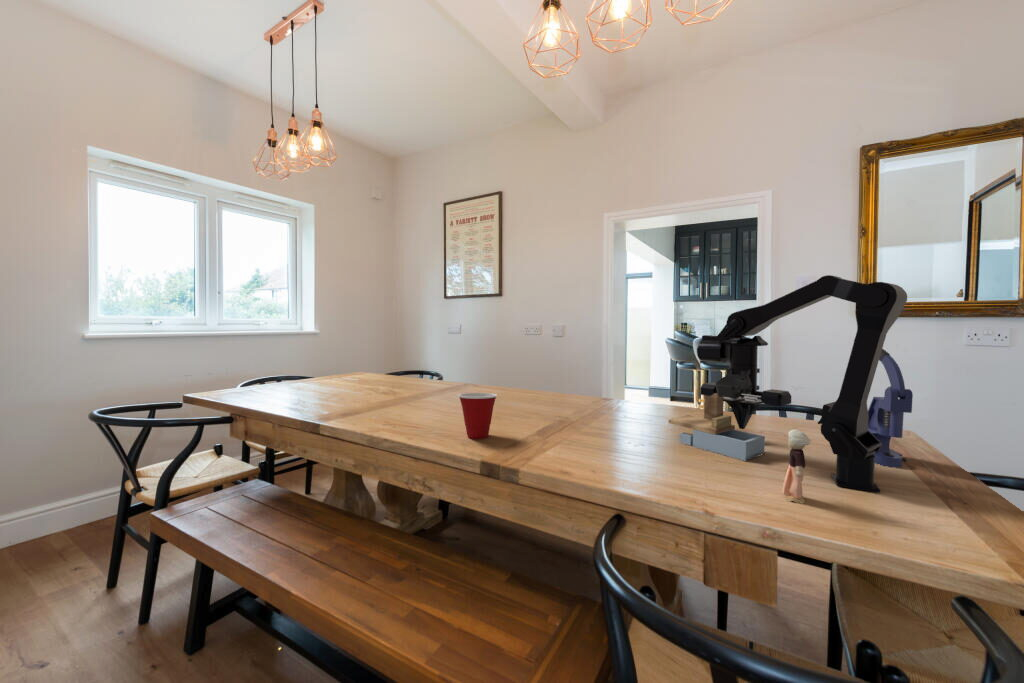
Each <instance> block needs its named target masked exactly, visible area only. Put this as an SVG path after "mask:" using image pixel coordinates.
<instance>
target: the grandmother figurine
mask: <svg viewBox="0 0 1024 683" xmlns="http://www.w3.org/2000/svg"><path fill="white" fill-rule="evenodd" d="M787 444H788V446H789V447H790V448H791V449H790V450H789V462H788V463H789V464H788V467H787V471H786V474H785V477H784V480H783V485H782V491H781V492H782V494H783V495H786V497H785V498H786V499H785V500H786V501H788V500H790V501H794V502H802V503H801V504H805V503H806V500H805V499H804V496H803V484H802V482H803V480H804V476H805V468H806V458H805V452H804V450H803V449H804V448H805V446H809V445H811V440H810V439H809V437H808V435H807V434H806V433H805V432H803V431H802V430H800V429H796V428H795V429H791V430H789V432H788V440H787ZM790 501H789V502H790ZM794 502H793V503H794ZM804 502H805V503H804Z"/></svg>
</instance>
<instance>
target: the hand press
mask: <svg viewBox="0 0 1024 683" xmlns="http://www.w3.org/2000/svg"><path fill="white" fill-rule="evenodd" d="M854 340H855V338H854ZM854 340H853V341H854ZM879 362H880V363H881V364H882V365H883V367H884V370H885V373H886V374H887V378H888V380H889V384H890V386H888V387H886V388H885V390H884V396H873V398H872V399H871V402H870V405H869V407H868V408H867V409H868V415H869V419H868V430H869V431H870V432H871V433H872V434H873V435H874V436H875V437H876V438H877V439H878V440H879V441H880V442H881V443H882V446H881V448H880V449H879V451H878V452H877V453H874V454H873V455H874V456H875V463H877V464H876V465H878V464H880V465H879V466H881V465H883V467H886V466H888V467H887V468H892V467H897V468H896V469H898V467H900V468H902V467H903V462H904V463H906V462H907V461H908V459H907V458H906V457H903V454H902V453H900V452H898V451H896V450H894V449H892V448H890V445H891V443H890V442H891V439H892V438H898V439H902V438H903V432H904V415H905V414H906V413H908V414H909V413H910V414H912V410H913V398H914V397H913V396H914V395H913V391H912V390H911V389H909V388H906V386H905V380H904V377H903V373H902V371H901V368H900V366H899V365H898V363H897V361H896V360H895V359H894V358H893V356H891V353H889V352H888V351H886V350H885V349H884V348H882V351H881V355H880V358H879ZM904 413H905V414H904Z"/></svg>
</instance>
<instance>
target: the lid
mask: <svg viewBox="0 0 1024 683" xmlns="http://www.w3.org/2000/svg"><path fill="white" fill-rule="evenodd" d="M668 424H670V425H675V426H678V427H679V426H680V427H683V428H686V429H691V430H693V429H695V430H699V431H703V432H707V433H711V434H715V435H716V434H719V433H723V432H726V431H730V430H733V429H735V430H736V428H735V427H736V425H734V424H732V415H729V414H726V415H724V414H723V416H720V417H716V418H712V420H708V419H704V417H703V418H702V417H699V416H693V415H683V416H678V417H673V418H670V419H668Z"/></svg>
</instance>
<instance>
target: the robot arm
mask: <svg viewBox="0 0 1024 683" xmlns="http://www.w3.org/2000/svg"><path fill="white" fill-rule="evenodd" d="M831 297H833V298H836V299H840V300H844V301H847V302H851V303H855V310H854V311H855V320H856V326H857V327H856V328H857V329H856V334H855V337H854V339H855V340H853V345H852V348H851V351H850V356H849V358H848V362H847V365H846V370H845V373H844V377H843V380H842V384H841V387H840V391H839V395H838V397H837V399H836V401H833V402H829V403H826V404H823V405H822V408H821V417H820V419H819V420H818V421H817V424H818V425H820V434H821V435H822V436H823V437H824V439H825V440H826V441H827V442H828V444H829V445H830V447H831V448H830V449H831V451H832V453H833V455H836V462H835V465H836V467H835V473H834V472H833V473H830V477H831V478H832V480H833V482H834V484H835V485H836V486H837V487H841V488H848V489H854V490H861V491H866V492H874V493H879V494H881V488H879V487H878V485H877V484H876V483H875V465H876V464H875V456H874V455H873V454H874V453H877V452H878V451H879V449H880V448H881V446H882V443H881V442H880V441H879V440H878V439H877V438H876V437H875V436H874V435H873V434H872V433H871V432H870V431H869V430H868V419H869V415H868V409H869V408H868V398H869V395H870V392H871V389H872V386H873V385H872V384H873V382H874V378H875V375H876V371H877V368H878V366H879V365H878V364H879V362H880V360H879V358H880V355H881V351H882V349H884V348H883V347H884V344H885V341H886V337H887V333H888V332H889V331H890V329H892V327H893V325H894V324H895V322H896V321H897V320H898V318H899V316H900V314H901V313H902V311H903V309H904V308H905V305H906V304H907V301H908V294H907V292H906V290H905V289H904V288H903V287H901V286H900V285H898V284H895V283H890V282H884V281H874V282H871V283H863V282H858V281H853V280H851V279H845V278H842V277H840V276H837V275H831V274H829V275H827V274H826V275H822V276H821V277H820V278H818V279H817V280H815V281H812V282H811V283H808V284H806V285H804V286H802V287H800V288H798V289H795V290H794V291H793V290H792V291H791V292H789V293H787V294H785V295H782V296H781V297H778V298H776V299H774V300H772V301H770V302H767V303H765V304H763V305H759V306H755V307H749V308H746V309H742V310H739V311H735V312H733V313H731V314H729V315H728V317H727V320H726V324H725V325H724V327H723V328H722V329H721V330H720V332H719V333H718V335H712V334H711V335H710V334H709V335H707V334H706V335H705V334H704V335H701V337H702V338H701V340H700V341H699V343H698V346H697V348H696V355H697V357H698V360H700V361H701V362H711V363H723V364H724V363H727V362H728V360H729V367H728V368H726V371H725V376H722V377H721V378H720V379H719V380H718V381H716V382H714V381H713V382H712V381H711V382H706V383H702V384H701V386H700V388H699V395H700V396H705V395H707V396H712V395H713V394H715V393H717V395H718V396H719V397H724V399H722V400H723V401H724V402H725V403H726V404H728V405H729V407H730V409H731V411H732V413H733V414H734V419H735V420H736V422H737V425H738V429H739V430H745V429H746V428H747V426H748V423H749V421H750V420H751V418H752V416H753V414H754V412H755V411H756V410H757V407H758V406H759V405H762V404H764V405H767V406H776V407H783V406H787V405H791V404H792V394H791V393H790V392H789V391H788V390H783V389H781V390H780V389H773V388H771V389H767V390H762V391H760V385H758V374H760V370H761V369H760V368H759V367H758V350H759V348H758V347H767V346H768V345H769V343H768V341H766V340H764V339H763V338H762V336H761V335H757V334H759V333H760V332H762V331H764V330H766V328H768V327H770V326H771V324H773V323H774V322H775V321H777V320H779V319H781V318H784V317H786V316H790V315H791V314H793V313H796V312H798V311H800V310H803V309H805V308H807V307H810V306H812V305H814V304H817V303H819V302H822V301H824V300H826V299H829V298H831ZM747 336H749V337H751V336H753V337H752V338H746V337H747ZM732 340H737V341H736V342H732Z"/></svg>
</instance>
